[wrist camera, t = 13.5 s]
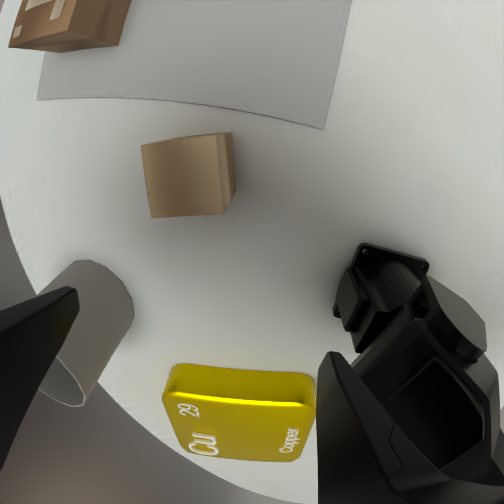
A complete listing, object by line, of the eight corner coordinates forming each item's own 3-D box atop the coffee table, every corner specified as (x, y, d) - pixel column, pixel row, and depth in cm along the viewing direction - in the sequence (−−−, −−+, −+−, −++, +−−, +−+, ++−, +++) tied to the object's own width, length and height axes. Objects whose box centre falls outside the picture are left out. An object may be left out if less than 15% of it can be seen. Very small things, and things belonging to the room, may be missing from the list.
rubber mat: (357, -36, 11) (358, -38, 10) (322, 129, 17) (322, 129, 17) (78, -37, 10) (76, -38, 10) (38, 100, 16) (36, 100, 16)
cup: (71, 243, 22) (-2, 304, 13) (145, 291, 23) (90, 376, 14) (60, 303, 26) (7, 364, 17) (121, 344, 27) (80, 418, 18)
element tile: (298, 436, 33) (298, 466, 29) (189, 427, 34) (181, 455, 30) (317, 369, 26) (321, 408, 22) (169, 358, 27) (155, 393, 23)
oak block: (231, 132, 17) (215, 135, 13) (235, 191, 19) (222, 214, 15) (173, 138, 18) (140, 145, 13) (179, 194, 20) (151, 218, 15)
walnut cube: (32, -27, 6) (78, -9, 12) (7, 47, 9) (60, 53, 14) (98, -52, 6) (139, -21, 12) (66, 30, 9) (118, 46, 15)
